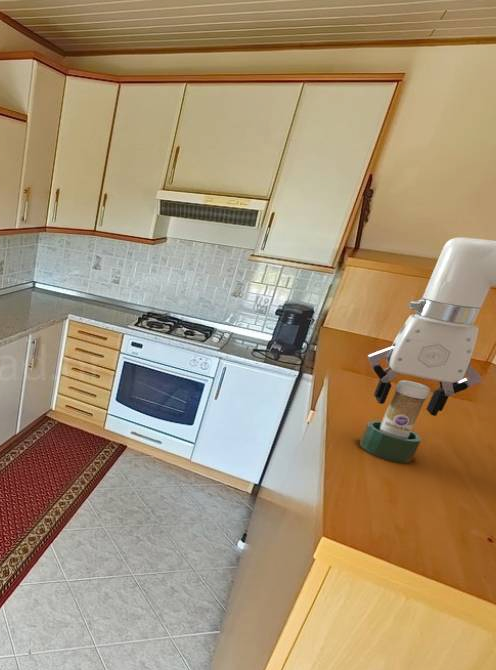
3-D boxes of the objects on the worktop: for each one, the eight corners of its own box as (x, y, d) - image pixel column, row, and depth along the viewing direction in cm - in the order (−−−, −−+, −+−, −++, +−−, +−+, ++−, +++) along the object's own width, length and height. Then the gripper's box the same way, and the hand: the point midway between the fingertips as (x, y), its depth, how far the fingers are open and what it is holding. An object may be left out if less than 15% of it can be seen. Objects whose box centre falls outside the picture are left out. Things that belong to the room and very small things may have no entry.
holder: (405, 449, 94) (415, 428, 93) (416, 467, 88) (427, 445, 86) (356, 436, 98) (364, 416, 96) (363, 453, 91) (372, 432, 89)
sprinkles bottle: (376, 451, 91) (405, 385, 86) (368, 440, 95) (395, 377, 90) (405, 458, 90) (436, 391, 85) (395, 446, 94) (424, 382, 89)
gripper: (388, 307, 83) (351, 401, 90) (524, 328, 76) (473, 428, 83) (379, 300, 90) (345, 388, 96) (504, 319, 83) (458, 413, 89)
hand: (405, 406), depth 89 cm, fingers open, 7 cm apart
